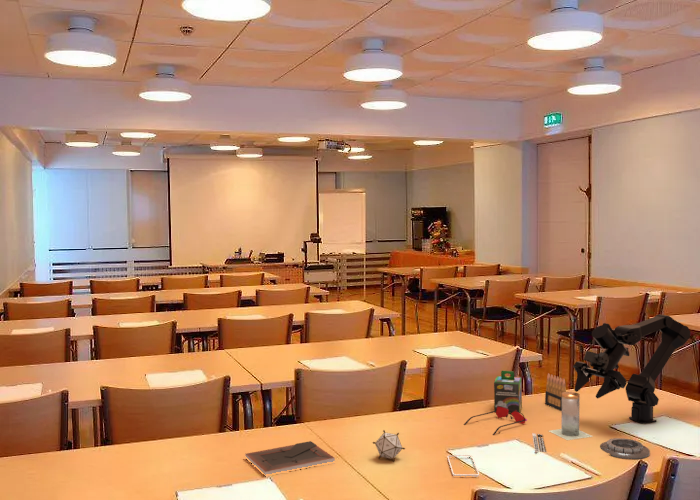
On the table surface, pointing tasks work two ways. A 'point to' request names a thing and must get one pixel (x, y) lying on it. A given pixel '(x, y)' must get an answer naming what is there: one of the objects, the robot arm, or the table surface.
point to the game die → (388, 445)
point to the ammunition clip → (554, 391)
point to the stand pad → (581, 435)
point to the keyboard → (541, 441)
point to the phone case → (462, 474)
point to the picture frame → (289, 457)
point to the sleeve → (570, 413)
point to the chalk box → (508, 392)
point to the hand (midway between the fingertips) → (585, 394)
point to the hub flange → (625, 448)
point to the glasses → (504, 413)
